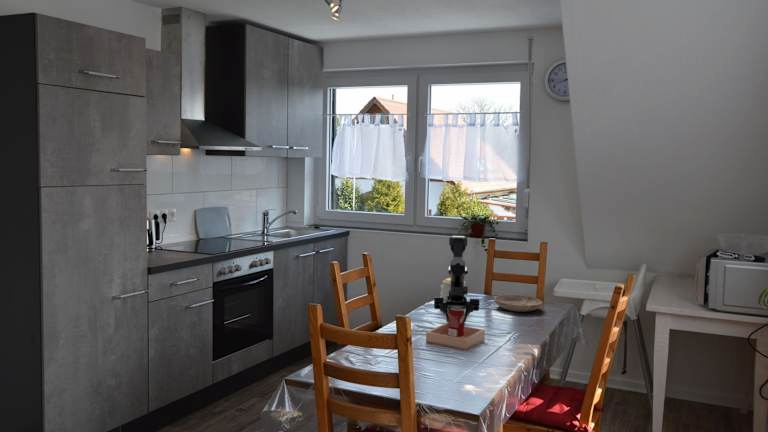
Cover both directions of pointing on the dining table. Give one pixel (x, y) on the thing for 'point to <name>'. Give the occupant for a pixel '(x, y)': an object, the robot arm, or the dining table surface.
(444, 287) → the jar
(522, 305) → the ceramic bowl
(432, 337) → the terracotta tray
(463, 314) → the soda can
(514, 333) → the dining table surface
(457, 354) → the dining table surface
